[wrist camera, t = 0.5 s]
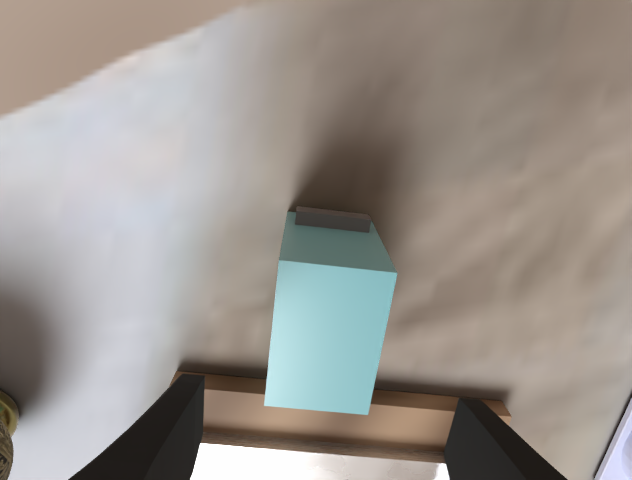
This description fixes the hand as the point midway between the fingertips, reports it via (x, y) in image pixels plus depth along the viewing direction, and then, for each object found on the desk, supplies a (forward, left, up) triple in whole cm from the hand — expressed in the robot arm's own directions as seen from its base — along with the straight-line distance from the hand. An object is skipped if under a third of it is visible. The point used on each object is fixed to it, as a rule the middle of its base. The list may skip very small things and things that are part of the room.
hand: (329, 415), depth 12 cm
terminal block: (0, 0, -9) cm, 9 cm away
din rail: (-2, +11, -8) cm, 14 cm away
